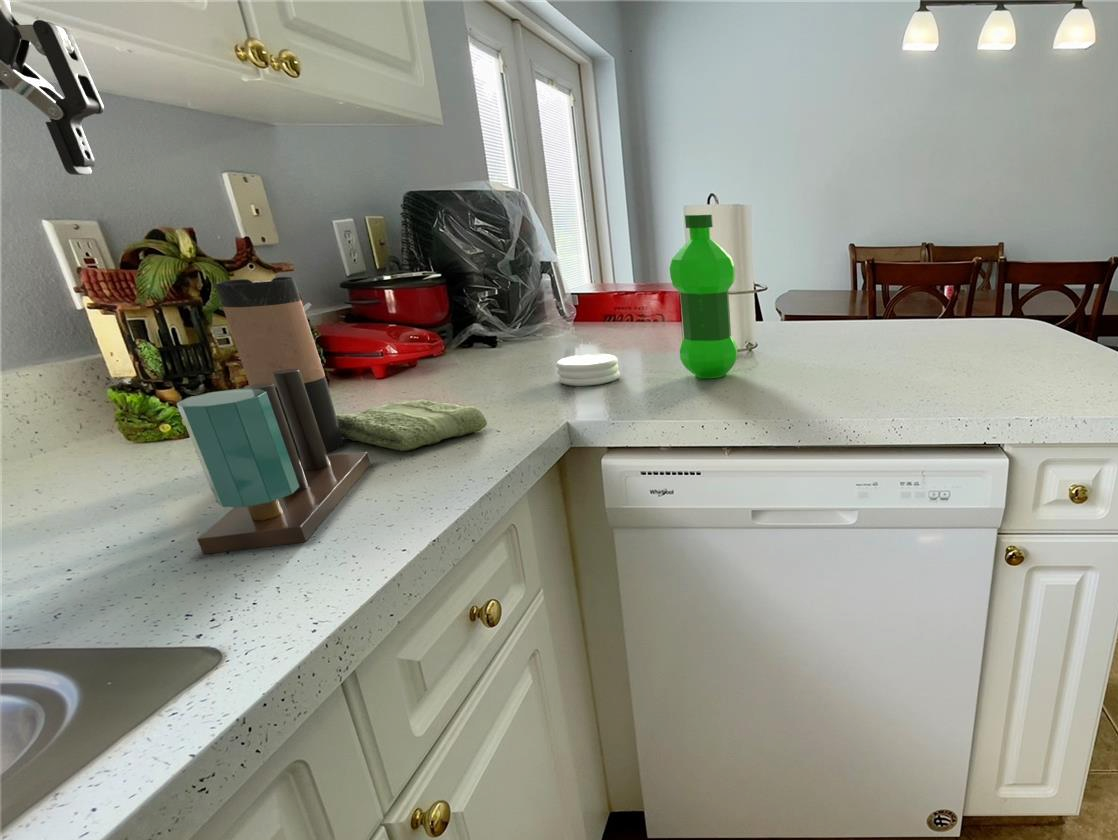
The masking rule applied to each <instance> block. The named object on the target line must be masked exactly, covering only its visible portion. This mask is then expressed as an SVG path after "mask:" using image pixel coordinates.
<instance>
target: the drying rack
mask: <svg viewBox="0 0 1118 840" xmlns="http://www.w3.org/2000/svg"><path fill="white" fill-rule="evenodd" d="M272 375H273V378H274V381H275V383H276V386H277V389H278V392H279V395H280V398H281V401H282V404H283V407H284V410H285V413H286V416H287V419H288V422H289V425H290V427H291V430H292V433H293V436H294V439H295V442H296V445H297V448H298V451H299V454H300V457H301V458H299V457H298V454H297V451H296V448H295V445H294V442H293V440H292V437H291V434H290V431H289V428H288V425H287V422H286V419H285V416H284V413H283V410H282V407H281V404H280V402H279V399H278V396H277V393H276V390H275V387H274V384H272V383H261V384H254V385H249V384H248V385H246V386H244V387H242V389H261V390H263V391H266V392H267V395H268V398H269V400H270V403H271V406H272V409H273V412H274V415H275V418H276V421H277V423H278V426H279V429H280V432H281V435H282V438H283V441H284V444H285V446H286V449H287V452H288V455H289V458H290V461H291V464H292V467H293V469H294V472H295V475H296V478H297V481H298V484H299V488H298V489H297V490H296V491H295V492H294V493H293V494H291V495H288V496H286V497H283V498H280V499H278V500H275V501H272V502H268V503H263V504H258V505H253V506H247V507H232V509H230V510H229V511H227V513H226V514H224V515H223V516H222V517H221V518H220V519H218V520H216V522H215V523H213V524H212V525H211V526H210V527H209V528H208V529H207V530H206V531H204V532H203V533H202V534H201V535H200V536H199V537H197V538H196V540H197V542H198V545H199V547H200V550H201V552H202V555H208V554H217V553H224V552H225V553H226V552H232V551H233V552H234V551H241V550H251V549H257V548H266V547H274V546H281V545H291V544H299V543H306V542H307V541H308V540H309V539H310V538H311V536H312V535H313V534H314V533H315V532H316V530H317V529H318V528H319V527H320V525H321V524H322V523H323V522H324V521H325V519H327V517H328V516H329V515H330V514H331V512H332V511H333V510H334V509H335V508H336V506H337V505H338V504H339V503H340V501H341V500H342V499H343V498H344V497H345V496H346V495H347V493H348V492H349V491H350V490H351V489H352V487H353V486H354V485H355V484H356V482H357V481H358V480H359V479H360V478H361V477H362V476H363V474H364V473H365V472H366V471H367V469H368V468H369V467H370V466H371V464H372V462H371V460H370V456H369V452H368V451H364V452H362V451H361V452H351V453H343V454H333V455H332V454H331V455H328V454H327V453H328V452H327V453H326V450H325V447H324V444H323V441H322V438H321V435H320V432H319V428H318V425H317V422H316V419H315V416H314V413H313V410H312V407H311V404H310V401H309V398H308V394H307V391H306V388H305V385H304V382H303V379H302V376H301V373H300V370H299V369H283V370H278V371H274V372H272Z"/></svg>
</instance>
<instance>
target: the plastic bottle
mask: <svg viewBox="0 0 1118 840" xmlns="http://www.w3.org/2000/svg"><path fill="white" fill-rule="evenodd" d="M684 221H685V228H686V229H689V239H688V241H687V242H685V244H684V245H683V246H682V247H681V248H679V250H678V251H677V253H675V255H674V256H673V257H672V259H671V261H670V264H669V265H670V266H669V276H670V280H671V283H672V286H673V287H674V289H676V291H678V292H679V296H680V306H681V307H680V308H681V318H682V329H683V340H682V342H681V345H680V349H679V359H680V361H681V363H682V366H684V367H685V368H686V370H688V371H689V373H691V374H693V375H695V378H699V379H717V378H718V379H719V378H722V377H726V375H727V373H728V372H729V371H730V370H731V369H732V368H733V366H734V365H735V363H736V361H737V357H738V354H739V353H738V352H739V351H738V345H737V342H736V340H735V338H734V337H733V335H732V330H731V328H732V327H731V326H732V325H731V311H730V296H729V295H730V294H729V289H730V288H731V287H732V286H733V285H734V283H735V276H736V268H735V267H736V265H735V262H734V260H733V258H732V256H731V255H730V254H729V253H728V252H727V251H726V250H724V248H723V247H722V246H721V245H719V244H718V242H716V241H715V240H714V239H712V238H711V228H713V227H714V222H713V221H714V220H713V214H685V215H684Z"/></svg>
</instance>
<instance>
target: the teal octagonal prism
mask: <svg viewBox="0 0 1118 840" xmlns="http://www.w3.org/2000/svg"><path fill="white" fill-rule="evenodd" d="M176 406H177V409H178V411H179V414H180V416H181V419H182V421H183V424H184V426H185V428H186V431H187V433H188V436H189V438H190V441H191V443H192V445H193V448H194V451H195V454H196V456H197V458H198V460H199V463H200V466H201V469H202V470H203V473H204V475H205V478H206V480H207V483H208V486H209V488H210V491H211V493H212V495H213V498H214V500H215V502H216V503H217V504H218V505H219V506H220V507H222V508H234V507H247V506H253V505H258V504H263V503H268V502H272V501H275V500H278V499H280V498H283V497H286V496H288V495H291V494H293V493H294V492H295V491H296V490H297V489H298V488H299V484H298V481H297V478H296V475H295V472H294V469H293V467H292V464H291V461H290V458H289V455H288V452H287V449H286V446H285V444H284V441H283V438H282V435H281V432H280V429H279V426H278V423H277V421H276V418H275V415H274V412H273V409H272V406H271V403H270V400H269V398H268V395H267V392H266V391H263V390H261V389H243V388H235V389H226V390H219V391H212V392H207V393H202V394H198V395H194V396H189V397H187V398H184V399H182V400H180V401H178V402H176Z"/></svg>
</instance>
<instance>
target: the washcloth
mask: <svg viewBox="0 0 1118 840" xmlns="http://www.w3.org/2000/svg"><path fill="white" fill-rule="evenodd" d="M336 417H337V421H338V425H339V428H340V432H341V436H342V439H348V440H350V441H353V442H355V441H357V442H362V443H364V444H369V445H374V446H376V447H382V448H387V449H391V450H395V451H401V452H403V451H405V452H406V451H410V450H416V449H418V448H420V447H423V446H426V445H427V446H429V445H432V444H437V443H439V442H440V441H442V440H447V439H450V438H457V437H462V436H465V435H468V434H472V433H475V432H480V431H482V430H483V429H484V428H486V427H487V424H488V421H487V419H486V417H485V415H484V413H483V412H482V411H481V409H480V408H478V407H476V406H474V405H473V406H472V405H466V406H465V405H464V406H461V405H457V404H455V403H445V402H439V401H432V400H427V399H415V400H409V401H404V402H402V401H401V402H396V403H395V402H394V403H393V402H392V403H389V404H386V405H379V406H374V407H369V408H366V409H365V410H362V411H360V412H358V413H353V414H351V413H341V414H338V415H336Z"/></svg>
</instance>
